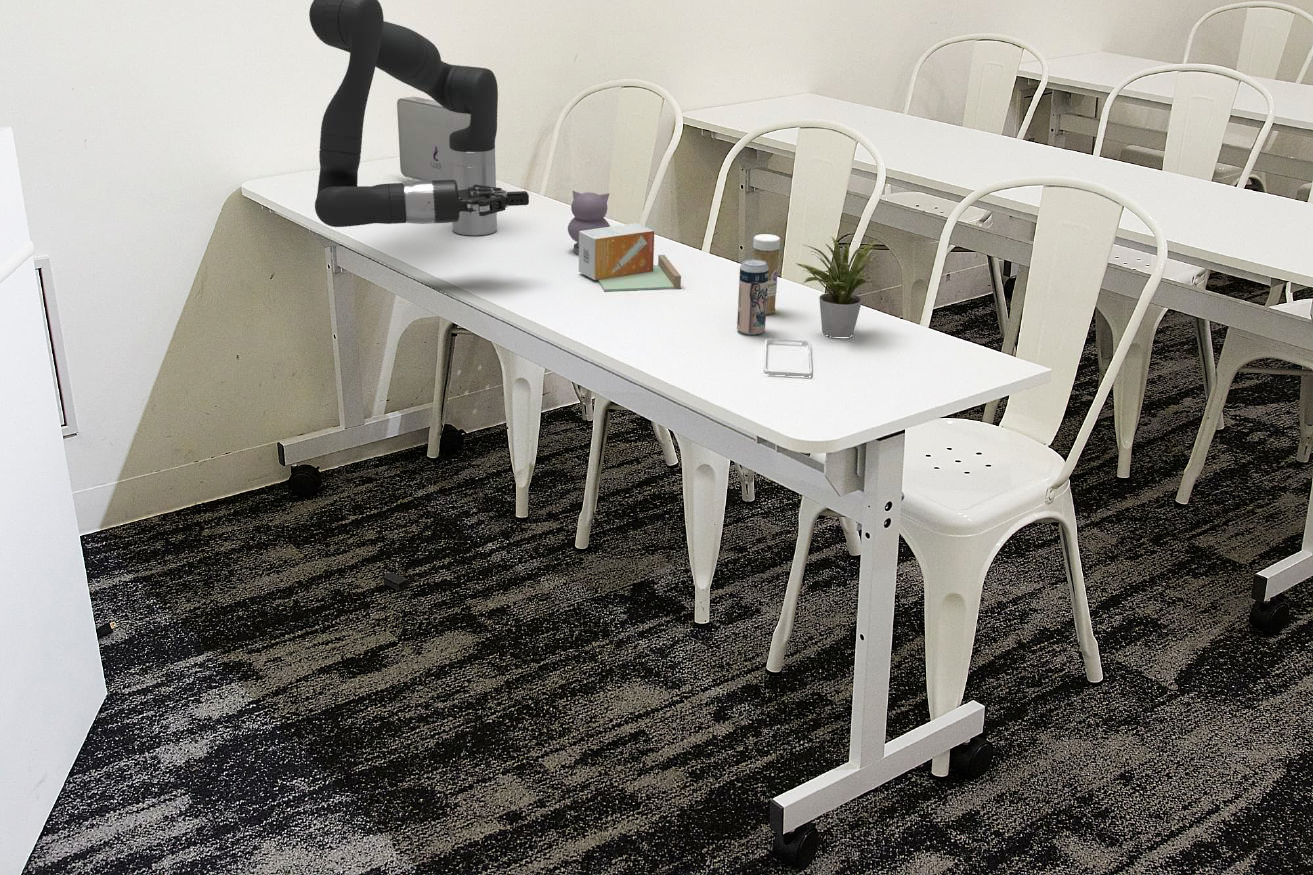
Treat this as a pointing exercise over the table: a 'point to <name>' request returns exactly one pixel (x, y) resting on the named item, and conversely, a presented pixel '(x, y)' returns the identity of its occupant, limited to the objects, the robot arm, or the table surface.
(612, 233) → the small box
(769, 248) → the sprinkles bottle
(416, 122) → the network device
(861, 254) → the house plant
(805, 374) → the white phone case
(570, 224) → the cat figurine
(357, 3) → the robot arm
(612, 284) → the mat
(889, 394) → the table surface
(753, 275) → the beer can
